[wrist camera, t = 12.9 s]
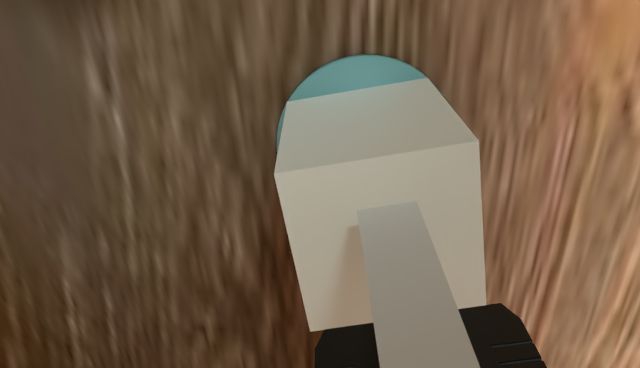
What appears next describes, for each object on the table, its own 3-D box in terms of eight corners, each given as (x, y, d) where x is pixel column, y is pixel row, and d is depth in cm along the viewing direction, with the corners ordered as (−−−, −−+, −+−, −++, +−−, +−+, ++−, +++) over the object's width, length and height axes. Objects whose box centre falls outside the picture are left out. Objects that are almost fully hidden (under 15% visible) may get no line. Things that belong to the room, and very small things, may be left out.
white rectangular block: (287, 101, 19) (273, 174, 13) (427, 77, 19) (478, 140, 13) (311, 222, 21) (310, 331, 15) (438, 203, 21) (486, 307, 15)
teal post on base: (260, 71, 20) (234, 132, 13) (444, 38, 19) (507, 86, 13) (295, 228, 23) (287, 340, 16) (456, 204, 22) (512, 309, 16)
